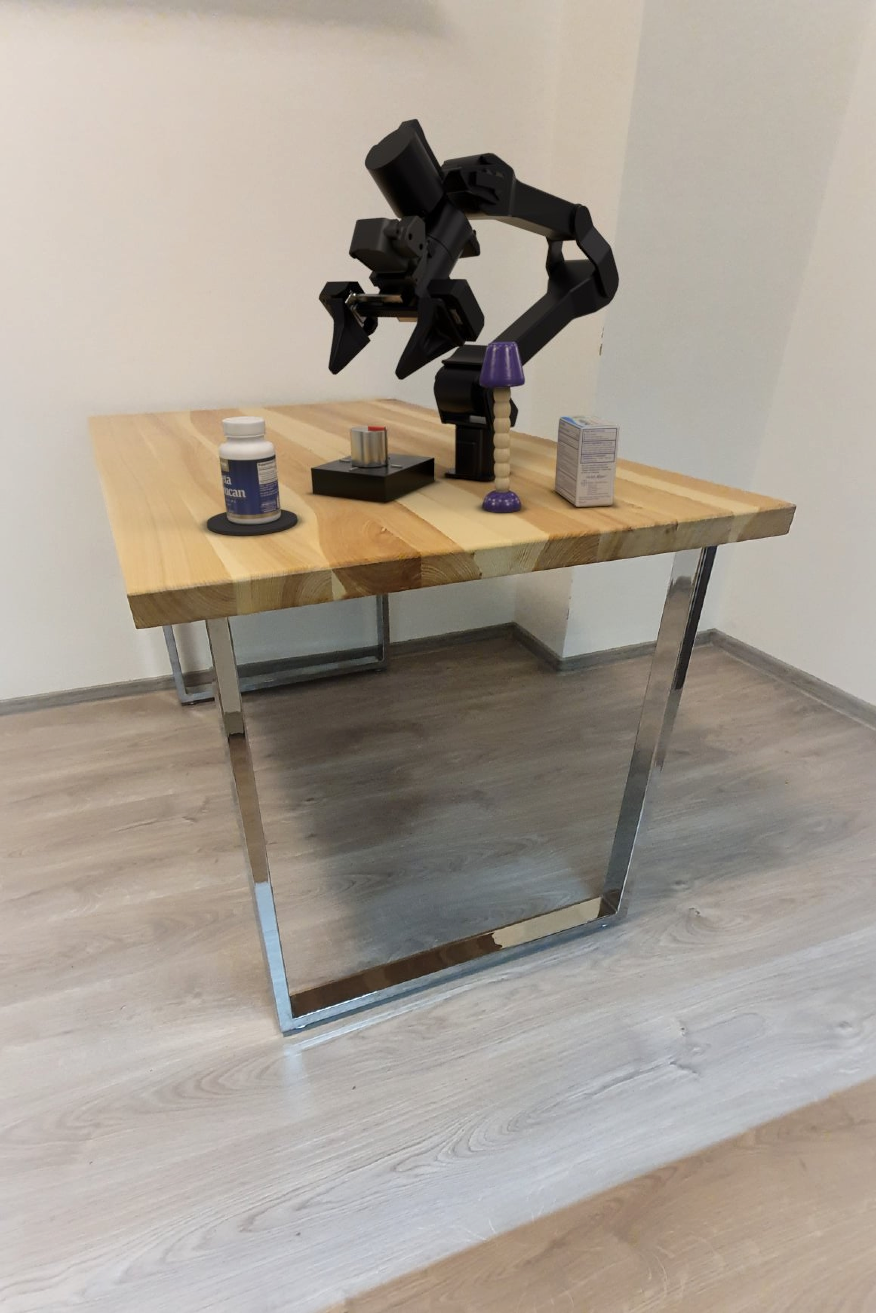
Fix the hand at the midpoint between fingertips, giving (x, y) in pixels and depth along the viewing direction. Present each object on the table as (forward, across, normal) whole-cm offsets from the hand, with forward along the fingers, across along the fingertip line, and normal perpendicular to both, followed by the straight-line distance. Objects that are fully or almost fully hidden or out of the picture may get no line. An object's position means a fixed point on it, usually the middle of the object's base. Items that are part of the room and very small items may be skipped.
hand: (363, 374), depth 75 cm
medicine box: (-2, +18, +22) cm, 28 cm away
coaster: (+18, -5, +1) cm, 19 cm away
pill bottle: (+18, -5, +1) cm, 19 cm away
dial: (+3, -5, +11) cm, 13 cm away
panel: (+5, -5, +14) cm, 16 cm away
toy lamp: (+4, +12, +15) cm, 20 cm away
